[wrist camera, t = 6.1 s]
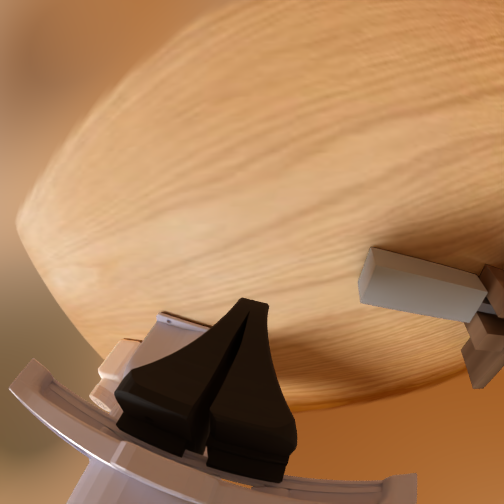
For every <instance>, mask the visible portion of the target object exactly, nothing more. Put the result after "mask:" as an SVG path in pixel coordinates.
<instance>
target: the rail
mask: <svg viewBox="0 0 504 504" xmlns="http://www.w3.org/2000/svg"><path fill="white" fill-rule="evenodd" d="M358 288H359V296H360V303H363V304H368V305H373V306H378V307H383V308H388V309H394V310H399V311H404V312H410V313H415V314H420V315H426V316H432V317H437V318H443V319H449V320H455V321H461V322H467V323H470V321H471V319H472V318H473V316H474V315H475V313H476V312H477V311H480V312H485V313H490V314H496V312H495V310H494V309H493V307H492V305H491V304H490V302H489V300H488V299H487V297H486V295H487V293H488V292H487V290H486V288H485V287H484V285H483V284H482V282H481V281H480V279H479V278H478V276H477V275H476V274H473V273H469V272H466V271H462V270H458V269H455V268H451V267H448V266H444V265H440V264H436V263H433V262H429V261H425V260H421V259H417V258H414V257H410V256H406V255H402V254H398V253H394V252H390V251H386V250H382V249H378V248H374V247H370V250H369V253H368V256H367V259H366V261H365V264H364V267H363V270H362V272H361V275H360V278H359V280H358ZM496 315H497V314H496Z"/></svg>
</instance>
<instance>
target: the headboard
mask: <svg viewBox="0 0 504 504" xmlns="http://www.w3.org/2000/svg"><path fill="white" fill-rule="evenodd" d="M479 279H480V281H481V282H482V284H483V285H484V287H485V288H486V290H487V292H488V293H487V295H486V297H487V299H488V300H489V302H490V304H491V305H492V307H493V309H494V310H495V312H496V314H497V315H496V314H490V313H485V312H480V311H477V312H476V313H475V315H474V316H473V318H472V319H471V321H470V323H467V322H464V324H465V326H466V328H467V331H468V333H469V335H470V339H469V340H468V341H467V343H466V344H465V345H464V347H463V348H462V349H461V352H462V355H463V358H464V361H465V364H466V367H467V370H468V373H469V377H470V380H471V383H472V387H473V389H480V388H484V387H485V386H486V385H487V384H488V383H489V382H490V381H491V379H492V378H493V377H494V376H495V375H496V374H497V373H498V372H499V371H500V370H501V368H502V367H503V366H504V270H501V269H498V268H495V267H492V266H489V265H485V267H484V269H483V271H482V273H481V275H480V277H479Z"/></svg>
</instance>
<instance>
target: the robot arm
mask: <svg viewBox="0 0 504 504" xmlns="http://www.w3.org/2000/svg"><path fill="white" fill-rule="evenodd" d="M268 309H269V305H268V304H267V303H262V302H258V301H254V300H250V299H246V298H241V299H239V300H238V302H237V303H236V304H235V305H234V306H233V307H232V308H231V310H230V311H229V312H228V313H227V314H226V315H225V316H224V317H222V318H221V319H220V320H219V321H218V322H217V323H216V324H215V325H214V326H212V327H211V328H208V327H205V326H202V325H198V324H195V323H192V322H189V321H185V320H182V319H179V318H176V317H173V316H170V315H167V314H164V313H158V314H157V316H156V317H157V322H156V323H155V325H154V326H153V327H152V329H151V330H150V332H149V333H148V334H147V336H146V337H145V339H144V340H143V341H142V343H141V344H140V346H139V347H138V349H137V350H136V351H135V353H134V354H133V356H132V357H131V359H130V360H129V362H128V364H127V366H126V369H125V371H124V375H123V379H122V381H121V383H120V384H119V386H118V387H117V389H116V390H115V392H114V396H115V398H116V400H117V402H118V403H117V404H116V405H115V406H114V407H113V409H112V410H111V411H110V413H109V414H107V413H106V412H104V411H102V410H101V409H98V408H97V407H95V406H94V405H92V404H90V403H89V402H87V401H85V400H84V399H82V398H81V397H79V396H78V395H76V394H75V393H73V392H72V391H70V390H69V389H68V388H66V387H65V386H63V385H62V384H61V383H59V382H58V381H56V380H55V379H54V378H53V376H52V374H51V373H50V372H49V371H48V370H47V369H46V368H45V367H44V366H43V365H41V364H40V363H39V362H38V361H37V360H35V359H34V358H33V359H32V360H31V361H30V362H29V363H28V365H27V366H26V367H25V368H24V369H23V370H22V372H21V373H20V374H19V375H18V376H17V378H16V379H15V380H14V381H13V383H12V384H11V385H10V386H9V390H10V391H11V392H12V393H13V394H14V395H15V396H16V397H17V398H18V399H19V401H20V402H21V403H22V404H23V405H24V406H25V407H26V408H27V409H28V410H29V411H30V412H31V413H32V414H33V415H34V416H36V417H37V418H38V419H39V420H40V421H41V422H42V423H43V424H45V425H46V426H47V427H48V428H49V429H51V430H52V431H53V432H54V433H56V434H57V435H58V436H59V437H61V438H62V439H63V440H65V441H66V442H67V443H68V444H70V445H71V446H73V447H74V448H75V449H77V450H78V451H80V452H81V453H83V454H84V455H85V456H87V457H88V458H89V461H90V463H89V464H88V466H87V468H86V469H85V471H84V473H83V475H82V476H81V478H80V480H79V482H78V484H77V485H76V487H75V489H74V491H73V492H72V495H71V496H70V498H69V500H68V501H67V503H66V504H416V501H417V474H416V473H413V474H403V475H394V476H390V477H388V478H386V479H384V480H382V481H339V480H323V479H311V478H302V477H293V476H287V475H284V472H285V467H286V465H287V464H288V460H289V456H290V455H291V453H292V452H293V451H294V450H295V449H296V446H297V430H296V424H295V419H294V417H293V415H292V413H291V411H290V409H289V407H288V405H287V403H286V401H285V398H284V396H283V394H282V391H281V388H280V385H279V383H278V380H277V377H276V373H275V370H274V366H273V362H272V358H271V353H270V347H269V340H268V330H267V315H268ZM221 478H223V479H226V480H230V481H234V482H238V483H242V484H246V485H251V486H253V487H252V488H251V489H248V488H245V487H241V486H238V485H235V484H231V483H228V482H225V481H222V480H221Z"/></svg>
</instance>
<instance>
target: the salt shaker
mask: <svg viewBox="0 0 504 504" xmlns="http://www.w3.org/2000/svg"><path fill="white" fill-rule="evenodd" d="M140 344H141V343H140V342H139V341H133V340H126V339H122V340H120V341H119V342H118V343H117V344H116V346H115V347H114V348H113V350H112V351H111V352H110V354H109V355H108V356H107V358H106V359H105V360H104V362H103V363H102V364H101V366H100V367H99V368H98V373H99V375H100V377H101V378H102V379H101V381H100V382H99V384H97V385H96V386H95V388H94V389H93V391H92V392H91V393H90V398H91V399H92V401H94V402H95V403H96V404H97V405H98V406H99V407H101V408H103V409H104V410H106V411H108V412H110V411H111V410H112V409H113V407H114V406H115V405H116V404H117V403H118V402H117V400H116V398H115V396H114V392H115V390H116V389H117V387H118V386H119V384H120V383H121V381H122V379H123V375H124V371H125V369H126V366H127V364H128V362H129V360H130V359H131V357H132V356H133V354H134V353H135V351H136V350H137V349H138V347H139V346H140Z"/></svg>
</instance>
